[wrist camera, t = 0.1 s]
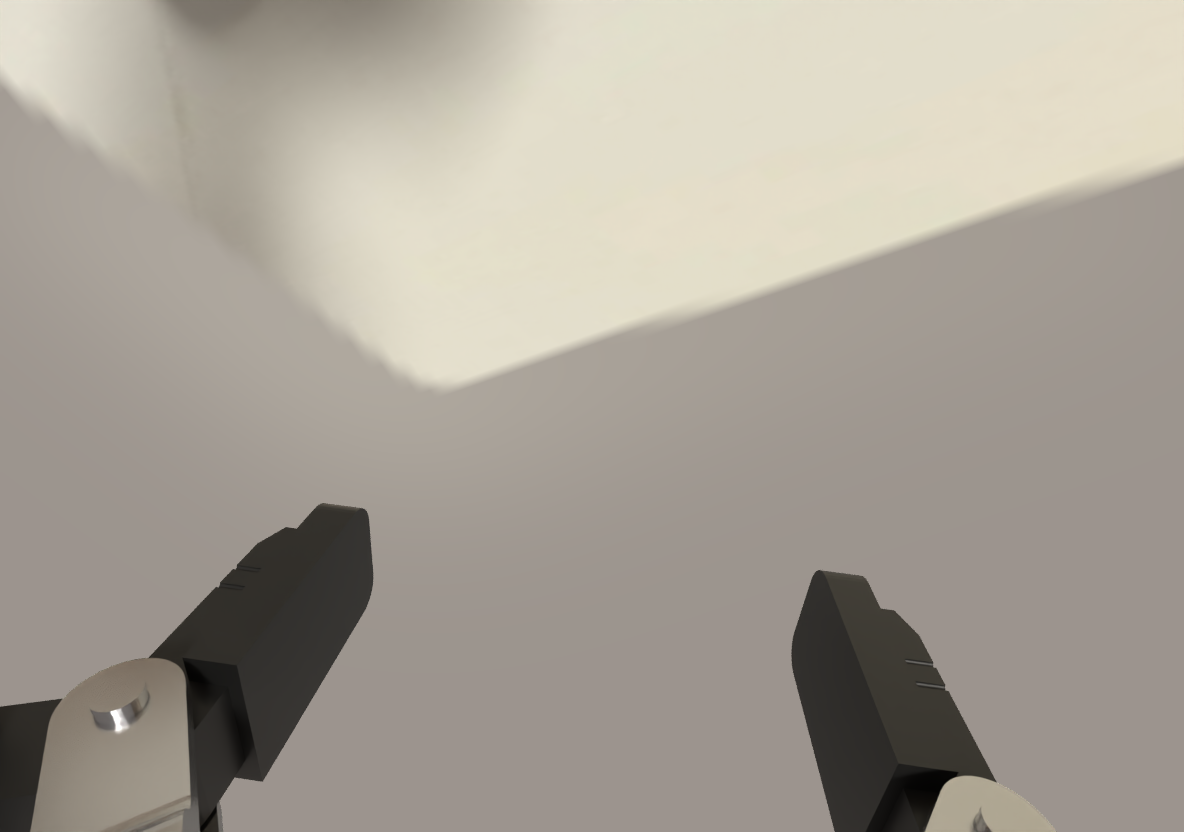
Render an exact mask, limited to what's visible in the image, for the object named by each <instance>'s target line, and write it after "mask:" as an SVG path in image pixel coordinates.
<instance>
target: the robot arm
mask: <svg viewBox="0 0 1184 832" xmlns="http://www.w3.org/2000/svg"><path fill="white" fill-rule="evenodd" d="M372 586H373V565H372V554H371V542H370V527H369V517H368V513H367V511H366V510H365V509H363V508H356V507H348V506H341V505H333V504H326V503H322V504H320V505H318V506H317V507H316V508H315V509H314V510H313V511H312V512H311V513H310V514H309V516H308V517H307V518H306V519H305V520H304V522H302V523H301V525H300V526H299V527H298V528H297V529H294V528H288V527H286V528H284V529H282V530H280V531H279V532H277V533H275V534H273V535H272V536H270V537H268V538H266V539H265V540H263V541H262V542H260V543H258V544H257V545H256V546H255V547H254V548H253V549H252V550H251V551H250V552H249V553H248V554H247V555H246V556H245V557H244V558H243V559H242V560H241V561H240V562H239V563H238V564H237V568H236V570H235V569H233V570H232V571H231V572H230V573H229V574H228V575H227V576H226V577H225V578H224V579H223V580H222V581H221V582H220V586H219V588H218V587H216V588H215V589H214V590H213V591H212V592H211V593H210V594H209V595H208V596H207V597H206V598H205V599H204V600H203V601H202V602H201V603H200V604H199V605H198V606H197V608H196V609H195V610H194V611H193V612H192V613H191V614H190V615H189V616H188V617H187V618H186V619H185V620H184V621H183V622H182V624H180V625H179V626H178V627H177V629H176V630H175V631H174V632H173V633H172V634H171V635H170V636H169V637H168V638H167V639H166V640H165V641H164V642H163V643H162V644H161V645H160V646H159V647H158V648H157V649H156V651H155V652H154V653H153V654H152V655H151V656H150V657H149V658H142V659H135V660H131V661H126V662H123V663H120V664H117V665H114V666H111V667H109V668H107V669H104V670H102V671H100V672H98V673H97V674H95V675H93V676H91V677H89V678H88V679H86V680H85V681H83V682H82V683H80V684H79V685H78V686H76V687H75V688H74V689H73V690H72V691H70V692H69V693H68V694H67V695H66V697H64V698H63V699H57V700H49V701H42V702H34V703H26V704H18V705H11V706H3V707H0V832H223V823H222V812H221V806H220V802H219V800H220V799H221V797H222V796H223V794H224V793H225V791H226V790H227V788H228V786H229V785H230V783H231V782H232V780H233V779H234V777H236V778H243V779H249V780H256V781H263V780H264V778H265V776H266V775H267V773H268V772H269V770H270V768H271V767H272V765H273V763H274V761H275V760H276V758H277V757H278V755H279V753H280V751H281V750H282V748H283V747H284V745H285V743H286V742H287V740H288V738H289V736H290V735H291V733H292V732H293V730H294V728H295V727H296V725H297V723H298V721H299V720H300V718H301V716H302V715H303V713H304V711H305V710H306V708H307V706H308V705H309V703H310V701H311V699H312V698H313V696H314V695H315V693H316V691H317V690H318V688H319V686H320V685H321V683H322V681H323V680H324V678H325V676H326V675H327V673H328V671H329V670H330V668H331V666H332V665H333V663H334V661H335V659H336V658H337V656H338V655H339V653H340V651H341V649H342V648H343V646H344V644H345V643H346V641H347V639H348V638H349V636H350V634H351V632H352V631H353V629H354V628H355V626H356V624H357V623H358V621H359V619H360V617H361V616H362V614H363V612H364V611H365V609H366V607H367V604H368V601H369V599H370V595H371V591H372ZM792 668H793V673H794V677H795V681H796V685H797V689H798V692H799V696H800V700H801V704H802V707H803V712H804V715H805V719H806V723H807V727H808V731H809V735H810V738H811V742H812V746H813V750H814V754H815V758H816V761H817V765H818V769H819V773H820V776H821V781H822V784H823V788H824V792H825V795H826V799H827V804H828V807H829V811H830V815H831V819H832V823H833V826H834V830H835V832H1056V830H1055V829H1054V827H1053V826H1052V825H1051V824H1050V823H1049V822H1048V820H1047V819H1046V818H1045V817H1044V816H1043V815H1042V814H1041V813H1040V812H1039V811H1038V810H1037V809H1036V808H1035V807H1034V806H1032V805H1031V804H1030V803H1029V802H1028V801H1026V800H1025V799H1024V798H1022V797H1021V796H1019V795H1018V794H1017V793H1015V792H1013V791H1012V790H1010V789H1008V788H1006V787H1005V786H1003V785H1001V784H998V783H997V782H996V780H995V779H994V777H993V775H992V773H991V771H990V769H989V767H988V765H987V763H986V761H985V759H984V758H983V756H982V754H981V752H980V750H979V748H978V746H977V745H976V742H975V741H974V739H973V737H972V735H971V733H970V731H969V729H968V727H967V725H966V724H965V722H964V720H963V718H962V716H961V714H960V712H959V710H958V708H957V707H956V705H955V703H954V701H953V699H952V697H951V695H950V693H949V691H945V684H944V682H943V680H942V678H941V676H940V675H939V673H938V670H937V669H936V668H933V661H932V659H931V657H930V656H929V654H928V652H927V650H926V648H925V646H924V644H923V642H922V640H921V639H920V636H919V635H918V634H917V633H916V632H915V631H914V630H913V629H912V628H911V627H910V626H909V625H908V624H907V623H906V622H905V621H904V620H903V619H902V618H901V617H900V616H899V615H898V614H897V613H896V612H895V611H894V610H886V609H881V608H880V606H879V604H878V602H877V600H876V598H875V596H874V594H873V592H872V590H871V588H870V585H869V583H868V582H867V580H866V579H865V578H864V577H863V576H859V575H851V574H844V573H836V572H828V571H821V570H818V571H816V572H815V574H814V575H813V577H812V580H811V583H810V586H809V589H808V592H807V595H806V598H805V601H804V604H803V607H802V611H801V614H800V617H799V620H798V623H797V626H796V629H795V632H794V636H793V641H792Z"/></svg>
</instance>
